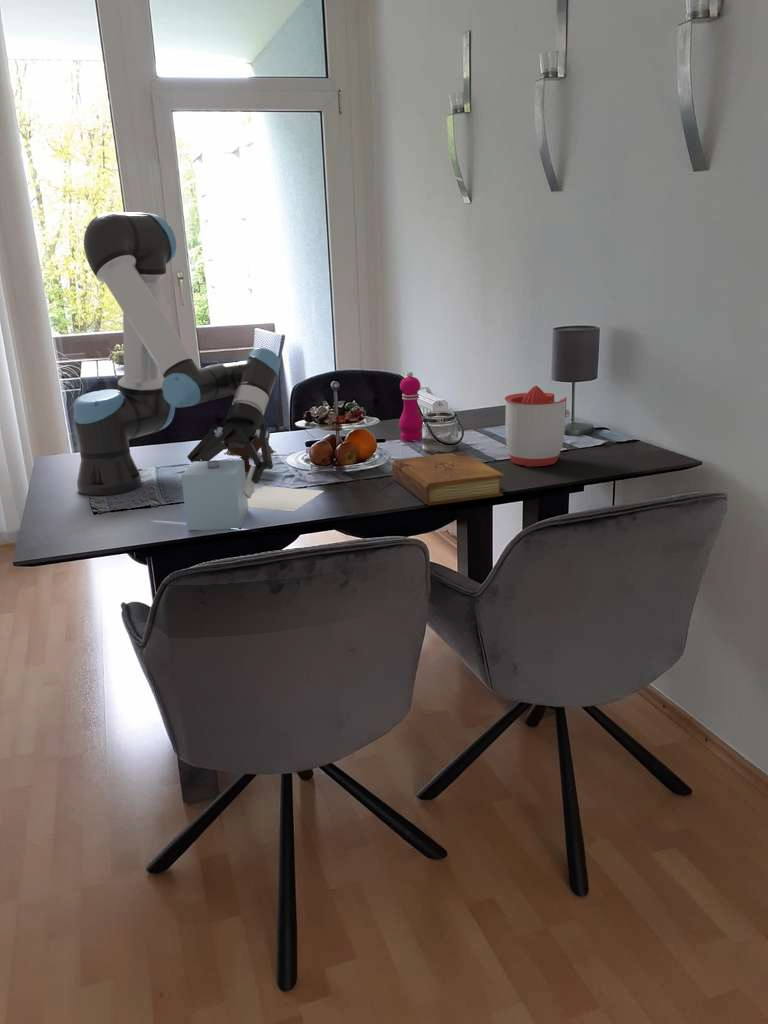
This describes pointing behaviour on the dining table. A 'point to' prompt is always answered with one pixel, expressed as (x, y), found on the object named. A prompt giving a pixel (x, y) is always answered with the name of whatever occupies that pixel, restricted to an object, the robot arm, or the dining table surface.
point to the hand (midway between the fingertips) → (218, 493)
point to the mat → (281, 498)
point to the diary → (447, 478)
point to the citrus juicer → (534, 427)
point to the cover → (214, 494)
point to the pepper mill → (410, 409)
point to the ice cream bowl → (245, 452)
